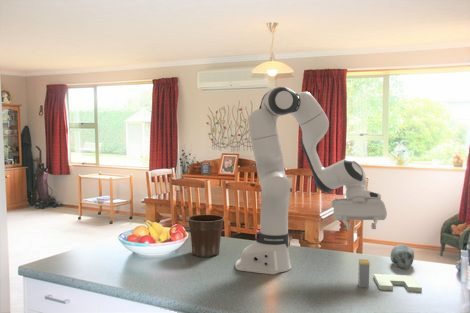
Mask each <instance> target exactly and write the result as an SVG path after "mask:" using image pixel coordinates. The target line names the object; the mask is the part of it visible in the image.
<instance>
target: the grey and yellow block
mask: <svg viewBox="0 0 470 313" xmlns="http://www.w3.org/2000/svg"><path fill="white" fill-rule="evenodd" d="M357 275H358V278H357V279H358V281H357V282H358V283H357V284H358V286H359V288H370V261H369V259H364V258H363V259H358V274H357Z"/></svg>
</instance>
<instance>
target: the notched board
mask: <svg viewBox="0 0 470 313" xmlns="http://www.w3.org/2000/svg"><path fill="white" fill-rule="evenodd" d="M373 279H374V281H375V283H376V285H377V287H378V289H379V290H382V291H394V286H395V285H396V286H404V287H405V289H406V290H407V292H418V293H422V292H423V289H422V288H423V287H422V286H421V285H420V283H419V282H418V281H417V279H416V278H415V277H414V275H405V274H403V275H402V274H385V273H373Z"/></svg>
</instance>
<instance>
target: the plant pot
mask: <svg viewBox="0 0 470 313" xmlns="http://www.w3.org/2000/svg"><path fill="white" fill-rule="evenodd" d="M224 220H225V217H224V216H223V215H219V214H195V215H190V216H188V217H187V221H188V228H189V229H190V230H189V231H190V232H189V233H190V240H191V243H190V244H191V253H192V255H195V256H196V257H201V258H208V257H213V256H217V255H219V254H220V249H221V240H222V238H221V236H222V230H223V229H222V228H223V224H224Z"/></svg>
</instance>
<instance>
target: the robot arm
mask: <svg viewBox="0 0 470 313" xmlns="http://www.w3.org/2000/svg"><path fill="white" fill-rule="evenodd" d="M288 114H290V115H292V116H293V117H294V118H295V120H296V122H297V123H298V126H300V129H301V134H302V136H301V138H300V144H301V147H302V150H303V154H304V156H305V158H306V161H307V162H308V166H309V168H310V170H311V173H312V177H313V180H314V183H315V185H316V189H318V190H319V191H321V192H323V193H327V194H330V193H331V192H333V191H335V190H336V189H339V188H341V187H345V189H346V190H345V198H335V199H333V200H332V201H331V207H332V208H333V210H332V211H333V213H332V214H333V219H334V220H336V221H342V222H343V224H344V225H345V227H346V230H350V229H351V222H348V221H373V222H371V225H370V226H371V230H376V229H377V223H378V222H379V221H384V220H386V219H387V216H388V215H387V214H388V213H387V212H388V211H387V208H386V205H385V203H384V201H383V200H382V197H381V196H382V195H381V194H380V193H379V192H374V191H371V190H368V188H367V186H368V185H367V183H368V182H367V176H366V173H365V170H364V168H363V166H362V165H361V164H359V163H358V162H356V161H354V160H352V159H350V158H344V159H341V160H339V161H337V162H335V163H333V164H331V165H329V166H327V167H324V166H323V164H322V162H321V159H320V157H319V155H318V151H317V146H318V143H319V142H320V141H321V140H322V139H323V138H324V137H325V135H326V134H327V132H328V131H329V127H330V121H329V118H328V116H327V114H326V113H325V111H324V109H323V108H322V106H321V104H320V103H319V101H318V100H317V99H316V98H315V97H314V96H313V95H312V94H311V93H310V92H308V91H300V92H295V91H294V90H292V89H290V88H288V87H286V86H278V87H275V88H272V89H270V90H268V91H267V92H266V93H265V94H264V95H263V96H262V98H261V102H260V105H259V108H258V109H255V110H253V111H252V112H251V113H250V114H249V116H248V130H249V132H248V133H249V138H250V142H251V146H252V152H253V156H254V160H255V167H256V172H257V176H258V182H259V187H260V189H261V199H260V200H261V201H260V213H259V214H260V216H259V217H260V218H259V219H260V220H259V222H260V227H259V228H260V229H259V230H258V229H256V230H255V232H254V241H253V242H252V243H250V244H249V245H248V246H246V247H245V248H244V249H243V250H242V252H241V255H240V258H239V259H237V260H236V262H235V265H234V266H235V267H234V268H235V269H236V270H237V271H240V272H241V271H242V272H248V273H256V274H257V273H258V274H265V275H276V274H279V273H284V272H288V271H290V270H291V269H292V265H291V260H290V254H289V252H290V251H289V247H290V234H289V208H290V198H291V182H290V179H289V177H287V175H286V171H285V170H286V169H285V166H284V165H285V164H284V157H283V151H282V146H281V142H280V136H279V132H278V128H277V121H278V118H279V117H282V116H286V115H288Z"/></svg>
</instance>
